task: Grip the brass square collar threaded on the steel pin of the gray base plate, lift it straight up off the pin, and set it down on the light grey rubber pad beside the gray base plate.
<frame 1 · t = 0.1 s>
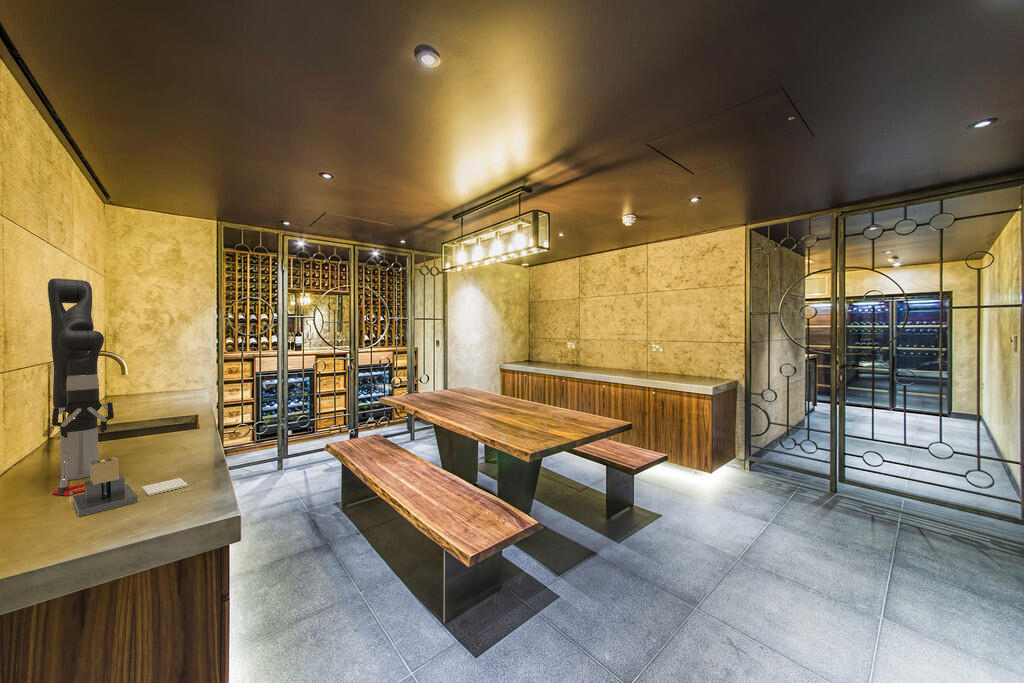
hand: (84, 434, 133), 17 cm above the table, tool pointing down, fingers open, 8 cm apart
tow hook: (78, 491, 128), on the table
gray base plate: (105, 502, 119), on the table
pad: (165, 487, 130), on the table
collar: (104, 479, 119), point 7 cm above the table, touching gray base plate
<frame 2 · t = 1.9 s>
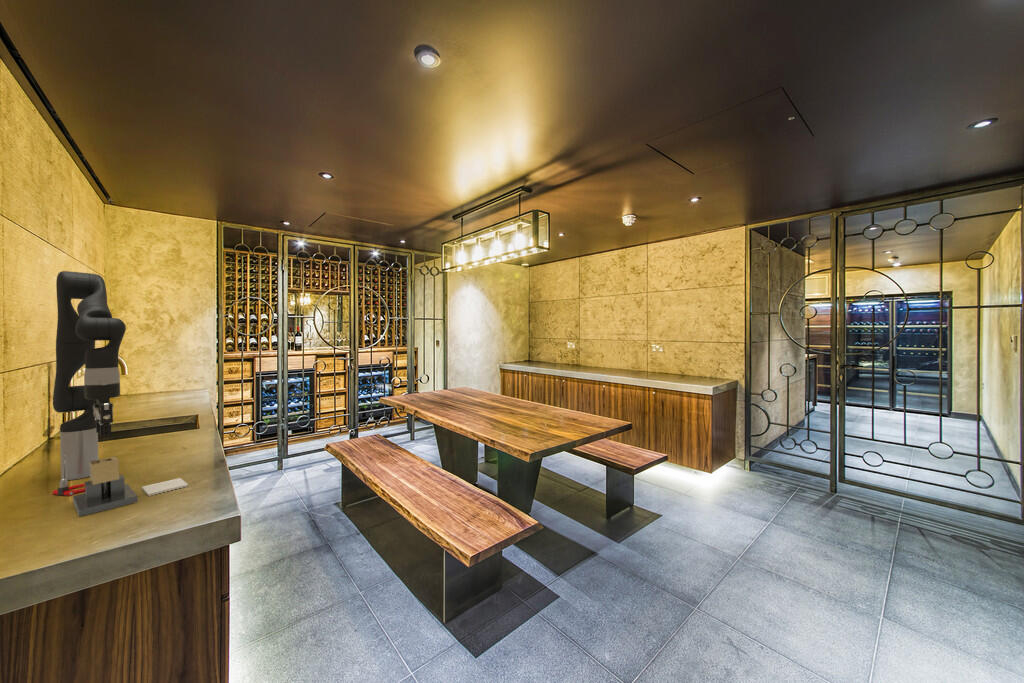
hand: (103, 434, 119), 21 cm above the table, tool pointing down, fingers open, 8 cm apart
nothing on the table moved.
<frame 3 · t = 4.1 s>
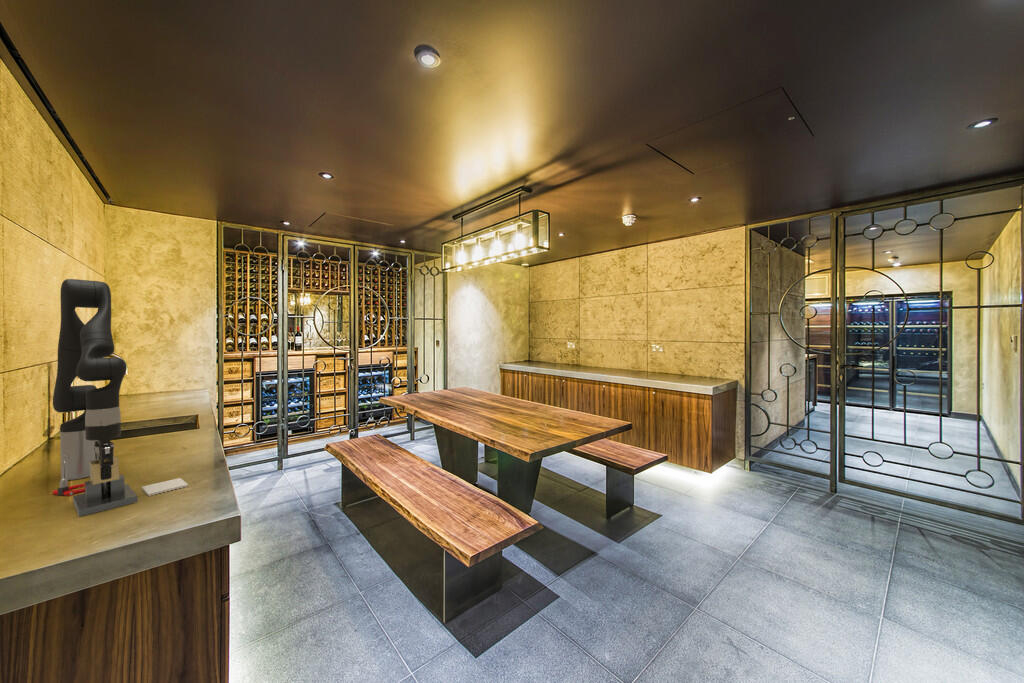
hand: (104, 476, 119), 8 cm above the table, tool pointing down, fingers closed on collar, 5 cm apart
collar: (104, 479, 119), point 7 cm above the table, touching gripper, gray base plate
everything else where it was.
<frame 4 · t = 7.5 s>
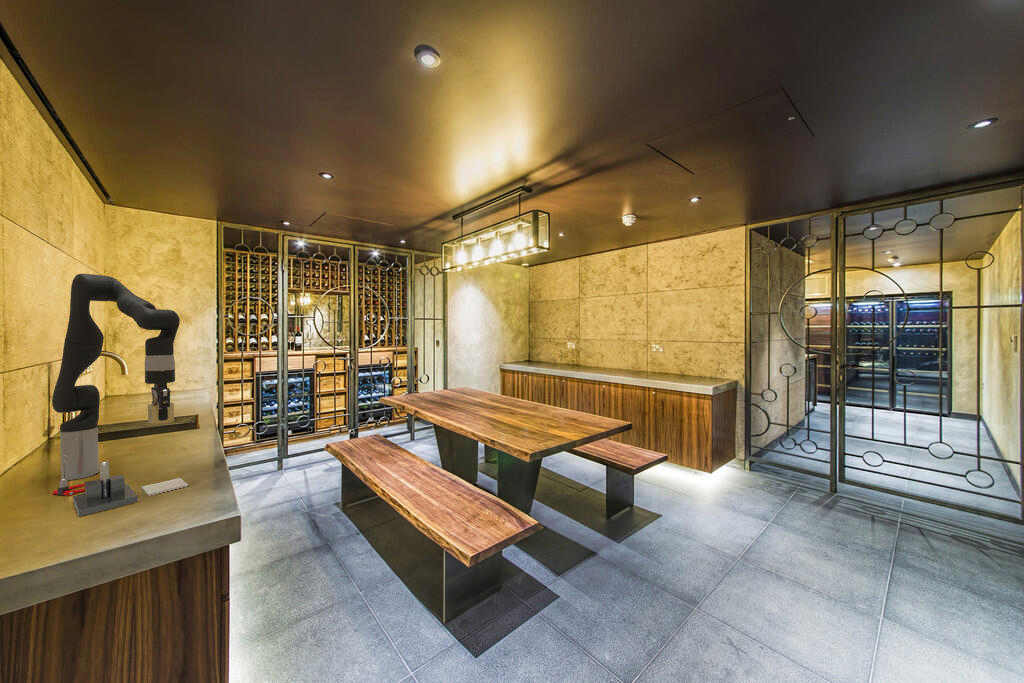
hand: (161, 418, 129), 24 cm above the table, tool pointing down, fingers closed on collar, 5 cm apart
collar: (161, 421, 129), point 23 cm above the table, touching gripper
everything else where it was.
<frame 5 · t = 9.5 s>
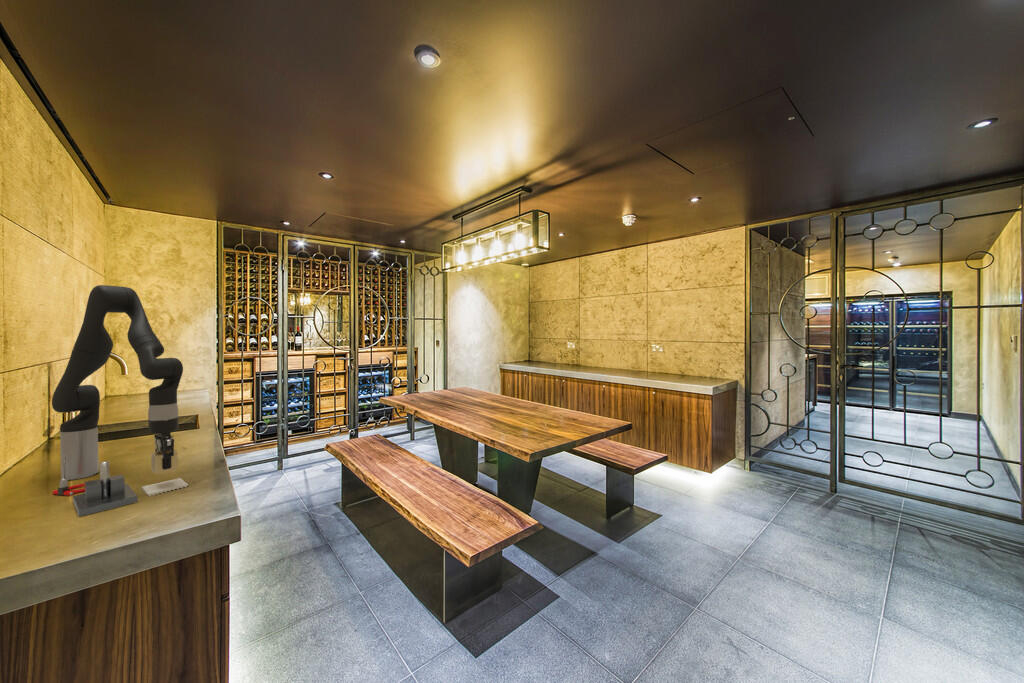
hand: (164, 466, 130), 7 cm above the table, tool pointing down, fingers closed on collar, 5 cm apart
collar: (164, 469, 130), point 6 cm above the table, touching gripper
everything else where it was.
when the fingers open (3 cm above the table, at t = 11.1 s): collar drops 1 cm, resting on pad.
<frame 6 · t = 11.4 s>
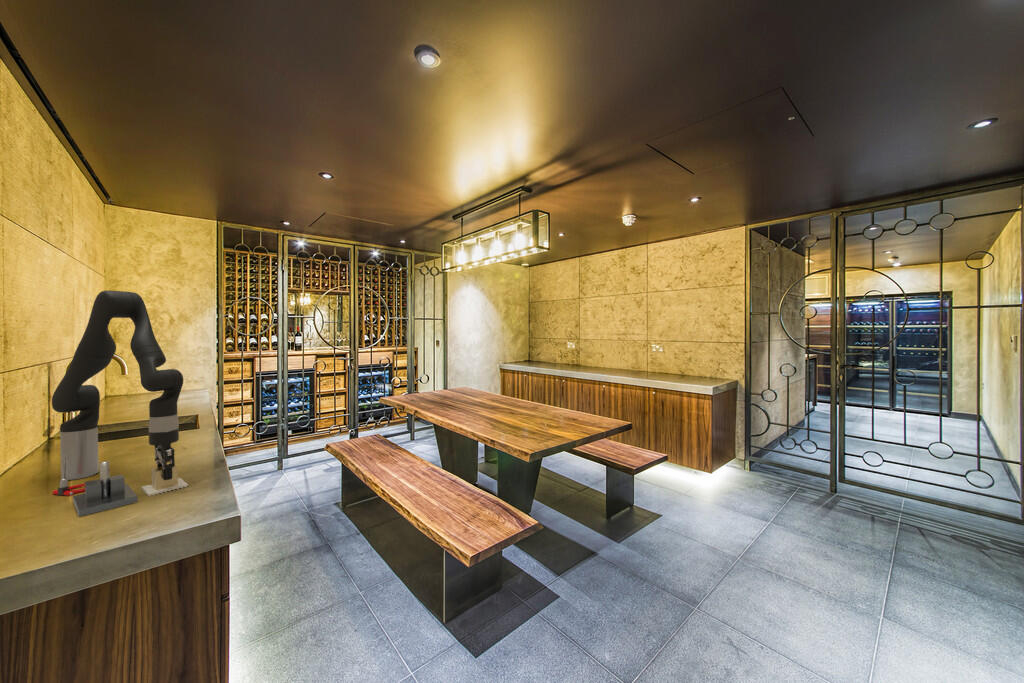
hand: (164, 476, 130), 4 cm above the table, tool pointing down, fingers open, 7 cm apart
collar: (164, 485, 130), point 1 cm above the table, touching pad
everything else where it was.
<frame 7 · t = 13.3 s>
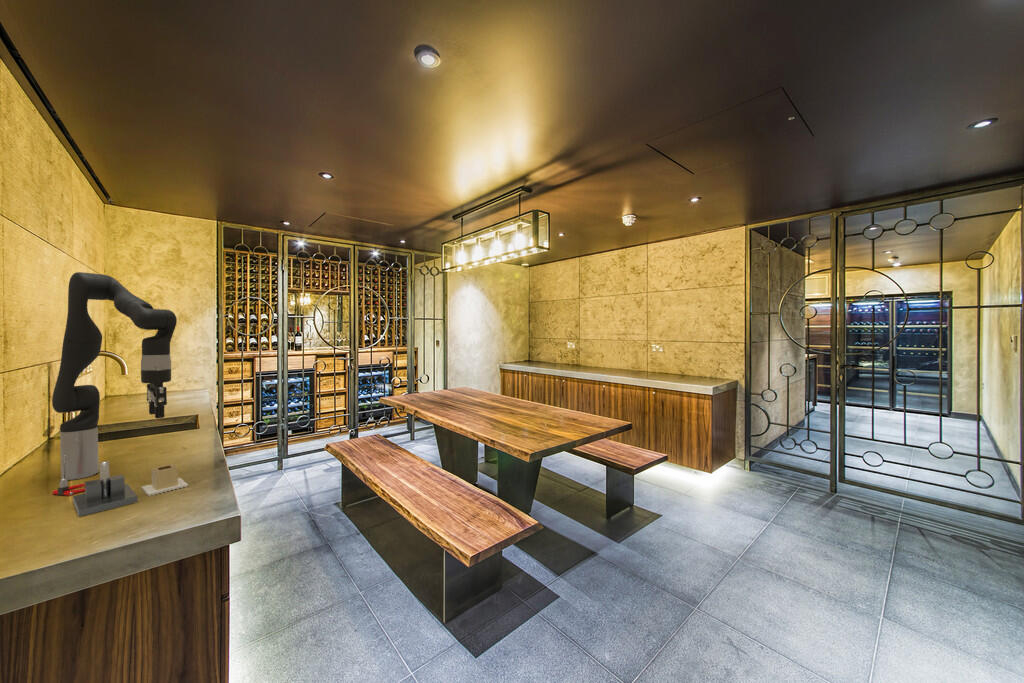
hand: (156, 415, 130), 24 cm above the table, tool pointing down, fingers open, 8 cm apart
nothing on the table moved.
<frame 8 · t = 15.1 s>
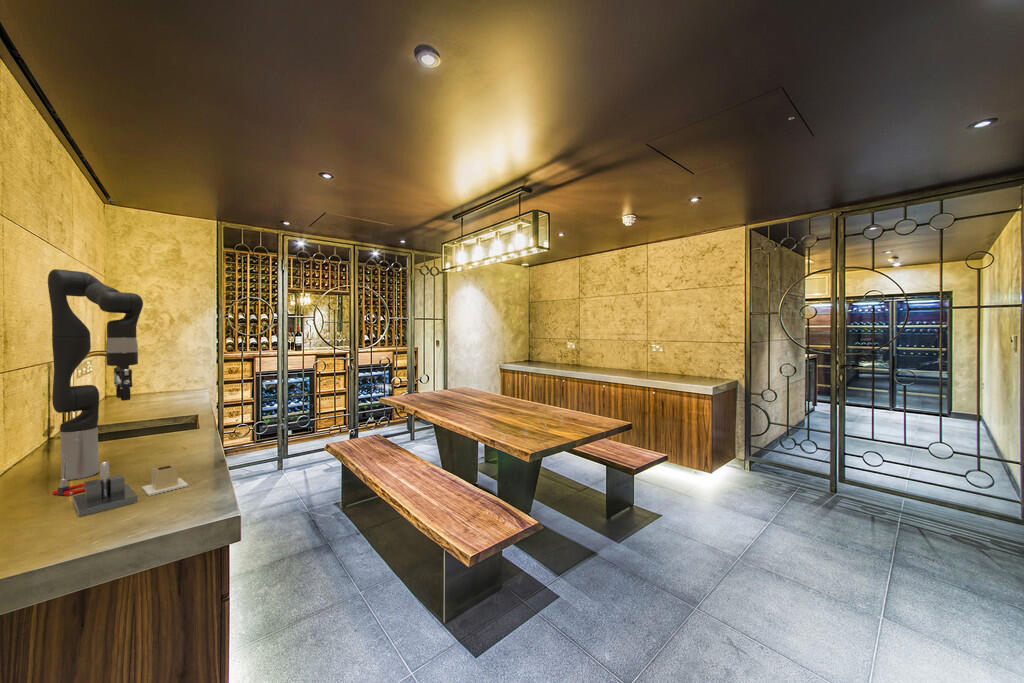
hand: (123, 398, 130), 30 cm above the table, tool pointing down, fingers open, 8 cm apart
nothing on the table moved.
at the end: collar inside the target area on the pad (0.1 cm from its centre), point 0.8 cm above the pad's base; collar tilted 0°; the gripper is holding nothing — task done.
